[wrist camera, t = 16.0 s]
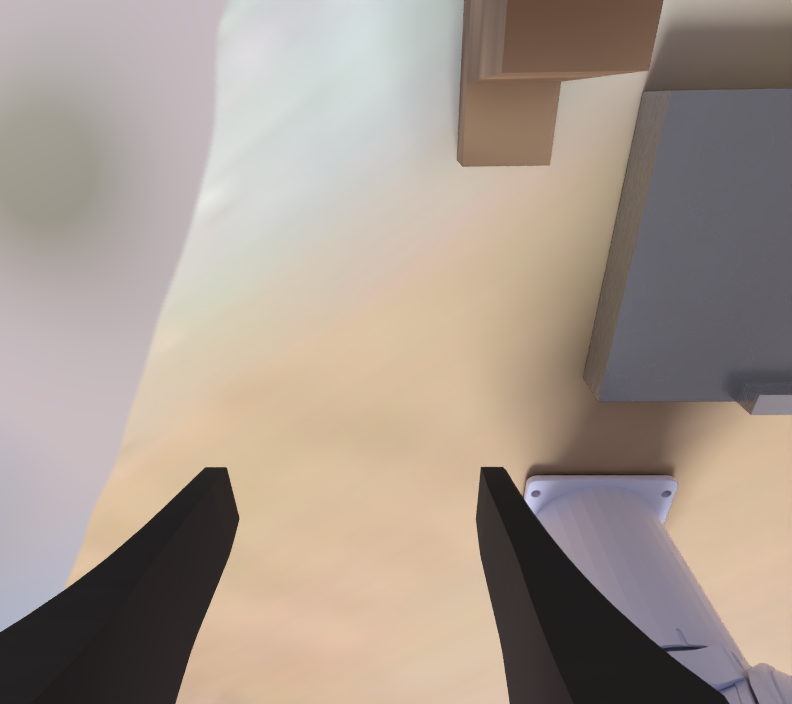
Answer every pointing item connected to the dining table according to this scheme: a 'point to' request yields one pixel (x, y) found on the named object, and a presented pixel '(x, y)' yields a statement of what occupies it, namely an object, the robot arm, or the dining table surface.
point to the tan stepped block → (539, 68)
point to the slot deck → (701, 256)
